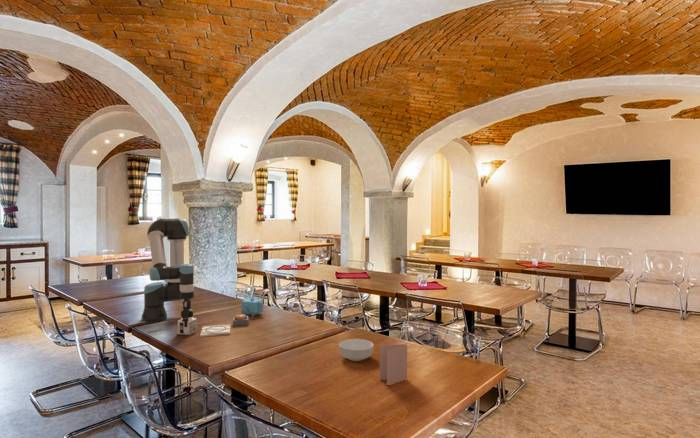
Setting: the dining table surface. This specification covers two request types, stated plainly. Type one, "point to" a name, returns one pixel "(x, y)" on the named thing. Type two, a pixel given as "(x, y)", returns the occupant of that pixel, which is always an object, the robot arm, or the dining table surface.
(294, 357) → the dining table surface
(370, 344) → the cereal bowl
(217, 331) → the drawing board
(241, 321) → the button box
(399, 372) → the greeting card
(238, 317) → the button
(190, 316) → the container
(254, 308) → the teapot
